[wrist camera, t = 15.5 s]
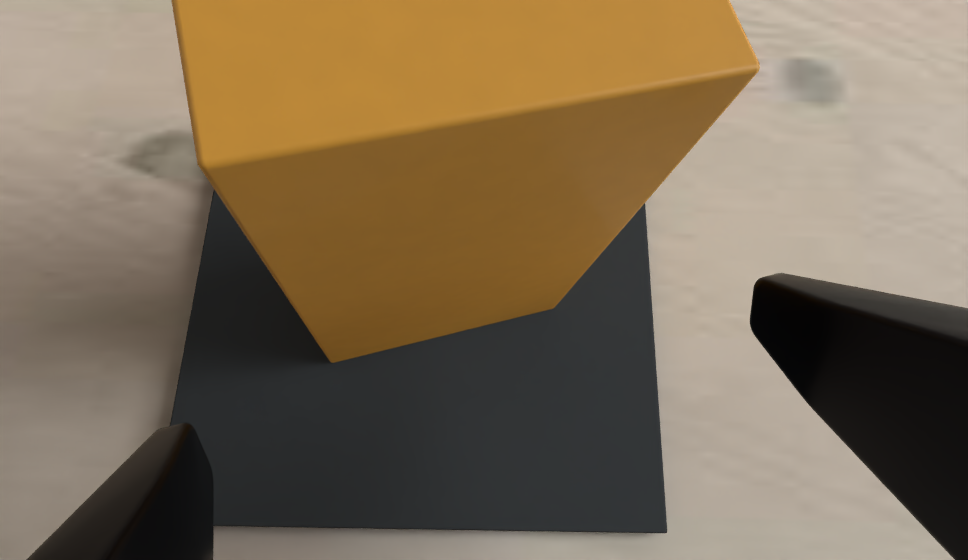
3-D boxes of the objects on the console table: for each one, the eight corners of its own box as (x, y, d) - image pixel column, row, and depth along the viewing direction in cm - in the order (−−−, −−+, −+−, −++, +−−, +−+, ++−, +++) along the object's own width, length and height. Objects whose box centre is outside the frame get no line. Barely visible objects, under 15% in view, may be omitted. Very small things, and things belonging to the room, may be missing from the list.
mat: (157, 523, 14) (150, 525, 13) (238, 81, 17) (234, 73, 17) (661, 532, 15) (668, 533, 15) (634, 118, 19) (639, 111, 18)
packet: (555, 308, 16) (765, 68, 7) (330, 364, 15) (195, 167, 5) (522, 209, 17) (670, -133, 7) (307, 254, 16) (155, -84, 6)
